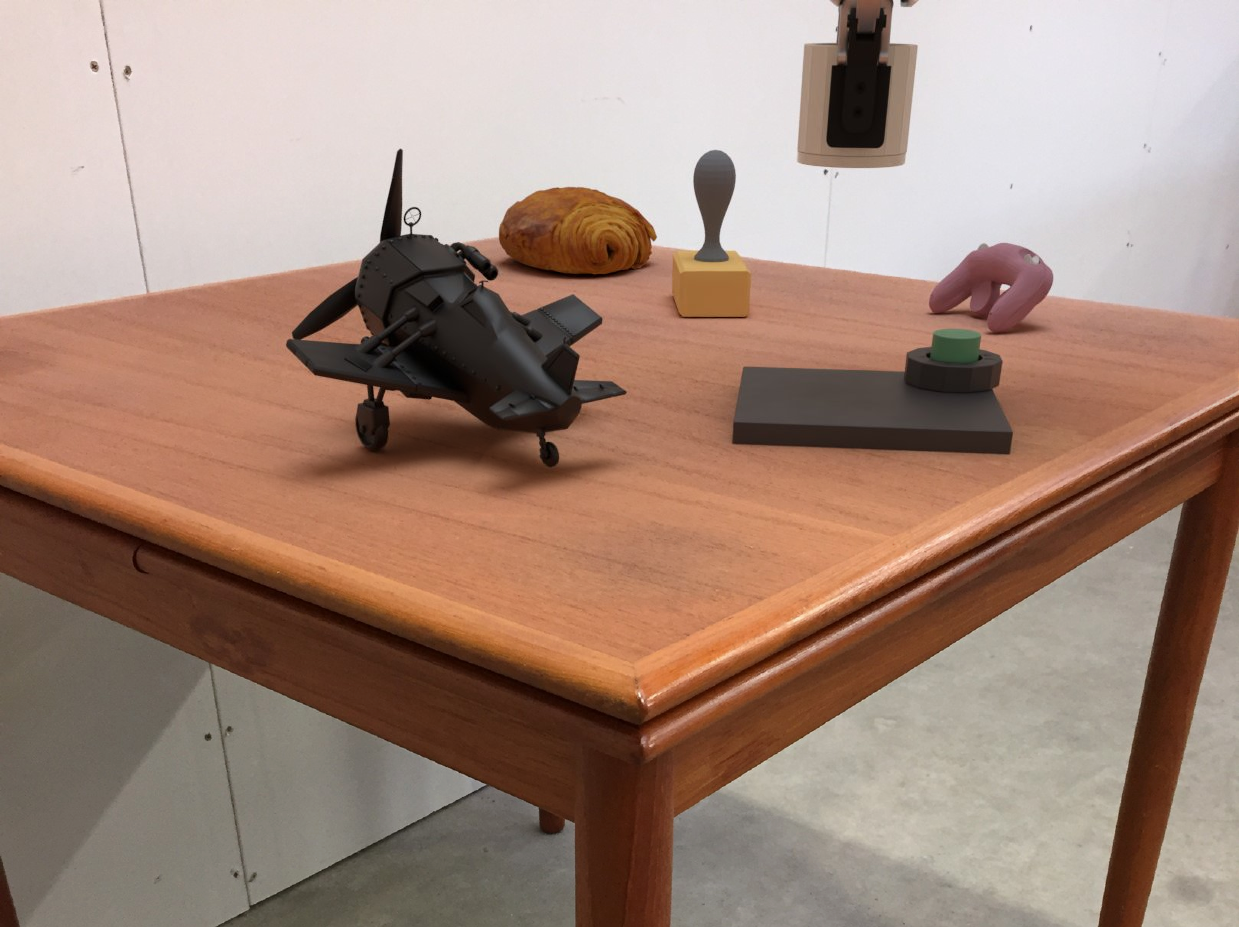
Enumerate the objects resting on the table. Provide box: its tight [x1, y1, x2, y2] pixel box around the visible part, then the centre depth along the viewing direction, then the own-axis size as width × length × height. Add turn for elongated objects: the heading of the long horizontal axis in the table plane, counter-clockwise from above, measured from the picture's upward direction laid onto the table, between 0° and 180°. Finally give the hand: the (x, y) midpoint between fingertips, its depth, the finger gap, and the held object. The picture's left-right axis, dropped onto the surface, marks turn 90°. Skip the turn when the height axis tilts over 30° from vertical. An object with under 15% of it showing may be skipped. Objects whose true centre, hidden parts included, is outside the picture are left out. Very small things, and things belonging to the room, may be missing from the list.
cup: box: [796, 42, 919, 169], centre depth 77 cm, size 6×6×6 cm
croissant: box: [498, 186, 658, 275], centre depth 130 cm, size 14×16×8 cm
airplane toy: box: [285, 148, 628, 468], centre depth 75 cm, size 20×19×15 cm
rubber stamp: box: [671, 149, 752, 318], centre depth 112 cm, size 10×6×12 cm, turn 2°
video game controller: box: [928, 242, 1054, 334], centre depth 109 cm, size 10×5×7 cm, turn 22°
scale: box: [731, 346, 1014, 455], centre depth 83 cm, size 16×14×3 cm
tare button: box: [930, 328, 982, 363], centre depth 85 cm, size 3×3×2 cm
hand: (853, 138), depth 78 cm, fingers closed on cup, 6 cm apart
